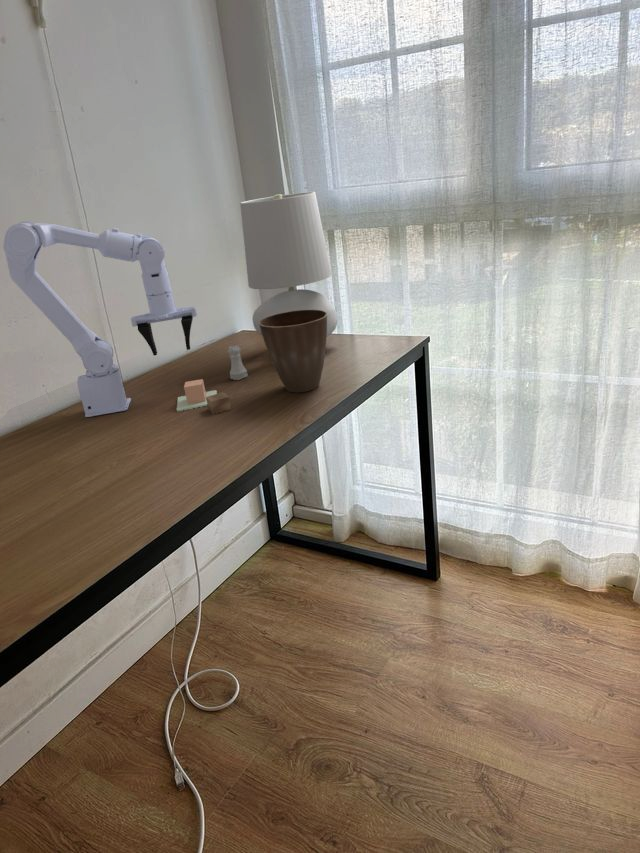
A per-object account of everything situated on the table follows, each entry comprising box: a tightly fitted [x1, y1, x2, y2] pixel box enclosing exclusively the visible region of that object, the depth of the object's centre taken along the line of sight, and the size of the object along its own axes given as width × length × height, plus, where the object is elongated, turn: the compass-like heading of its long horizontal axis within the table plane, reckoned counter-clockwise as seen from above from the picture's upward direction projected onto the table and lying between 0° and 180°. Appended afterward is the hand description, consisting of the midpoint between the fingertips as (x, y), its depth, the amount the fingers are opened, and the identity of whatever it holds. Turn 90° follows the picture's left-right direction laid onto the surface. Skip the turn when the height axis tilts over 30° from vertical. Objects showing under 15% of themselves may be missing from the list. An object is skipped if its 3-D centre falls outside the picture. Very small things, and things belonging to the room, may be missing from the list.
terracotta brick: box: [183, 378, 207, 404], centre depth 150 cm, size 4×4×4 cm
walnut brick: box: [206, 392, 232, 414], centre depth 144 cm, size 4×4×3 cm
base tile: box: [176, 389, 218, 412], centre depth 151 cm, size 9×9×1 cm
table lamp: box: [239, 191, 338, 338], centre depth 172 cm, size 23×22×40 cm
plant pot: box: [259, 310, 328, 393], centre depth 148 cm, size 15×15×16 cm
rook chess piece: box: [227, 344, 249, 381], centre depth 163 cm, size 4×4×8 cm
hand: (172, 351), depth 155 cm, fingers open, 7 cm apart
